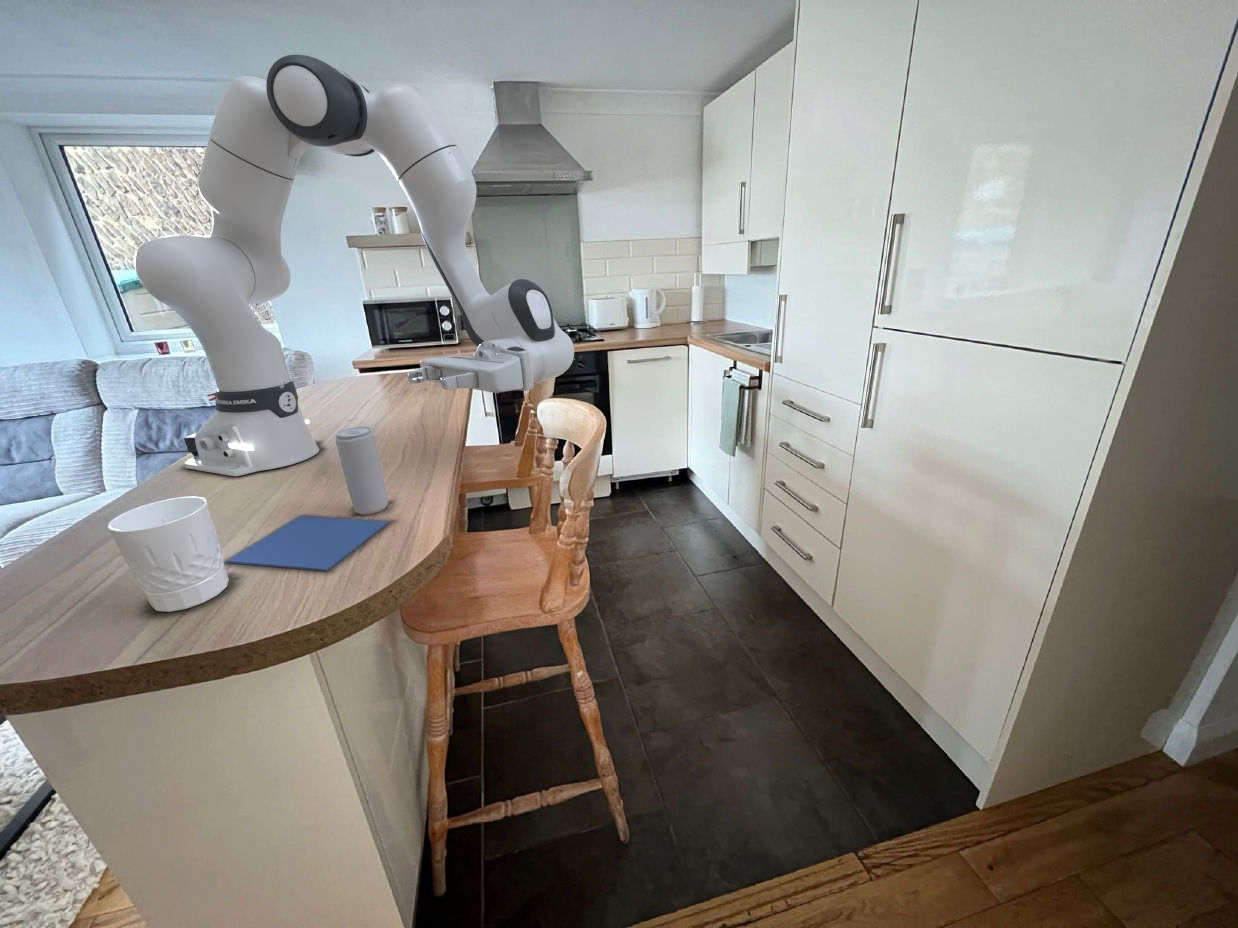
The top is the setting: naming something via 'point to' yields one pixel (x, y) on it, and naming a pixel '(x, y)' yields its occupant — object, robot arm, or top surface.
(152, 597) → the white cup
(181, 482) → the top surface
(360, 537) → the blue cloth
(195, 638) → the top surface
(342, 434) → the beverage can
